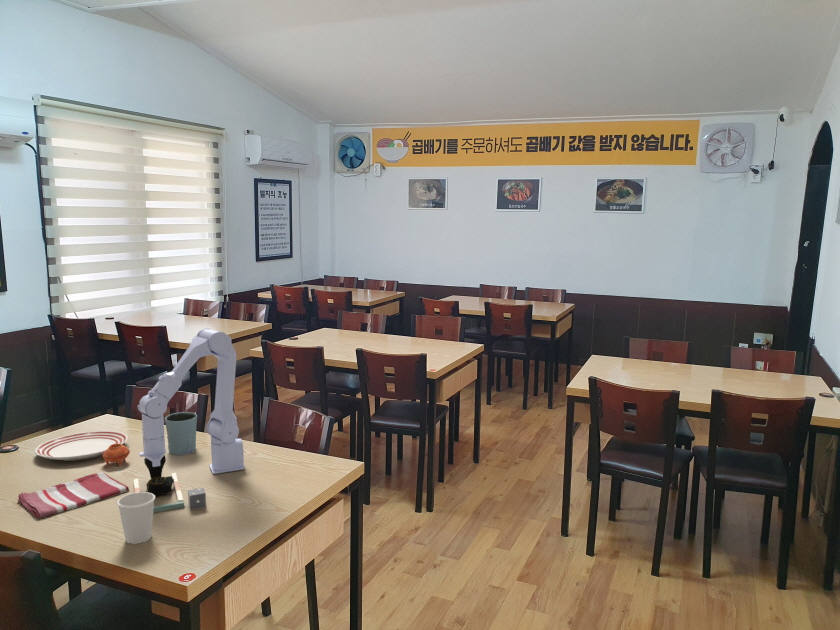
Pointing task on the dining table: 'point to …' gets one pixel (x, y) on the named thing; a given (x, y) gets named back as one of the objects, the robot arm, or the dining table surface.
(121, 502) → the dixie cup
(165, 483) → the tape measure
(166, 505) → the track
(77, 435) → the dinner plate
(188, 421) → the teal cylindrical container
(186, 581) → the dining table surface
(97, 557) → the dining table surface
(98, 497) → the dish towel
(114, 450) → the pot
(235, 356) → the robot arm
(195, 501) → the die
